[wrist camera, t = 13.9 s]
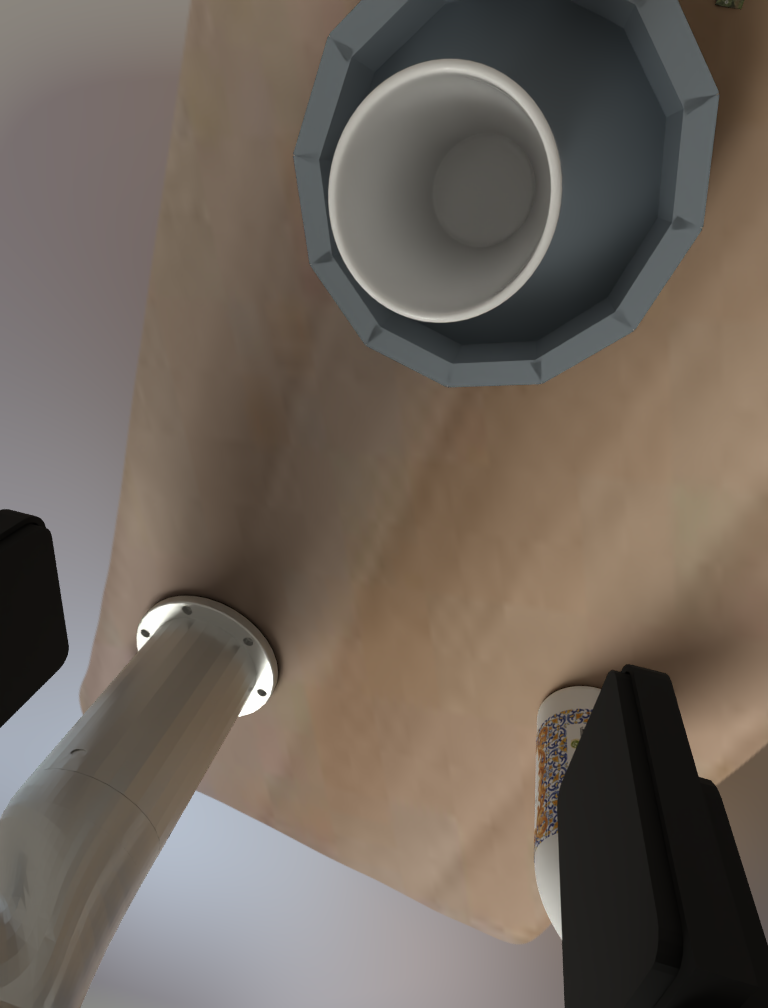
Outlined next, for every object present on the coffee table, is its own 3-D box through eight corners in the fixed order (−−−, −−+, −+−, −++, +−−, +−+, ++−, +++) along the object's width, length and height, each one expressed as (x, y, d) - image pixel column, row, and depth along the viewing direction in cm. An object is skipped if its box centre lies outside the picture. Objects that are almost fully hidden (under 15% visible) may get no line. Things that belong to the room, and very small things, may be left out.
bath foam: (528, 685, 45) (516, 997, 28) (626, 678, 42) (679, 1015, 25) (546, 751, 48) (546, 1071, 30) (640, 748, 45) (697, 1094, 28)
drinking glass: (427, 103, 28) (328, 43, 16) (573, 116, 27) (595, 63, 15) (411, 256, 32) (319, 310, 19) (540, 273, 31) (535, 342, 18)
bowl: (448, 414, 36) (434, 445, 32) (268, 147, 32) (225, 142, 28) (750, 233, 29) (786, 242, 24) (571, -154, 24) (576, -226, 20)
